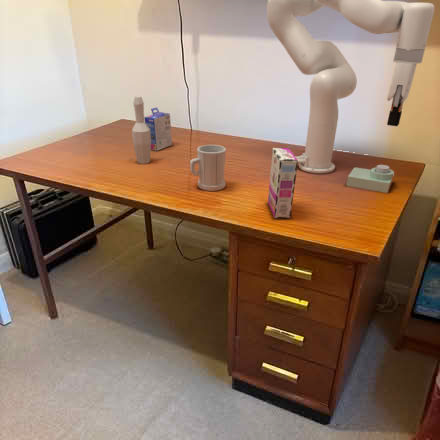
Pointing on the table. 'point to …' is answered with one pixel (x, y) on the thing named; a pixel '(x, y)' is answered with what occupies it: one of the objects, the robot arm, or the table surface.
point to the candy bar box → (282, 182)
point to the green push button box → (370, 179)
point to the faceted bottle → (141, 133)
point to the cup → (210, 167)
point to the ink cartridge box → (159, 129)
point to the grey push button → (382, 169)
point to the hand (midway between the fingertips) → (392, 124)
